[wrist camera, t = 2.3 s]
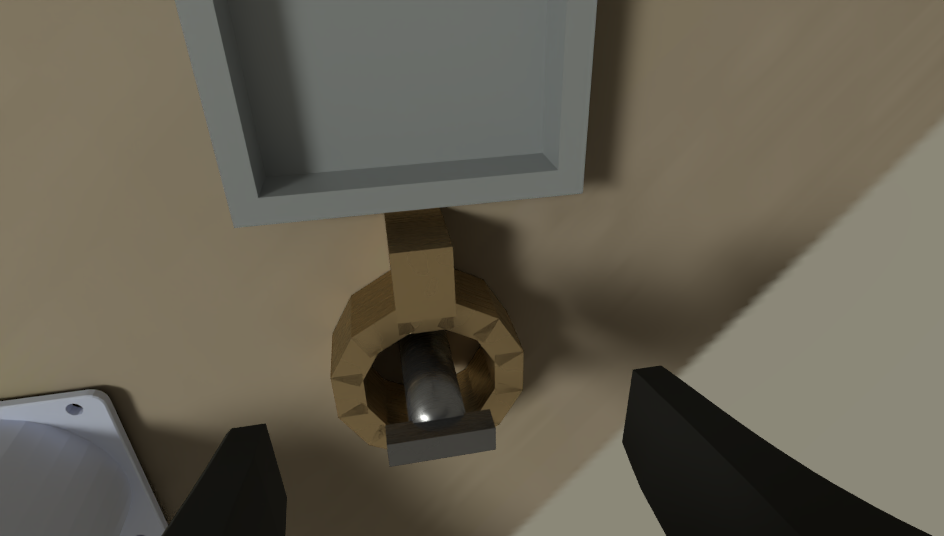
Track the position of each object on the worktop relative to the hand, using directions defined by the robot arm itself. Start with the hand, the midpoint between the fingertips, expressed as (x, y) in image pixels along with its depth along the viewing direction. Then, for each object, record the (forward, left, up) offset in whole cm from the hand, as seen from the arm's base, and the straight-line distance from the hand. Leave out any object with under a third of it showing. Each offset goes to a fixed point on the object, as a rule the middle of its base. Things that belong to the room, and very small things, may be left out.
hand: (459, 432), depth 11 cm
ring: (0, -3, -9) cm, 10 cm away
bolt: (0, -5, -9) cm, 10 cm away
